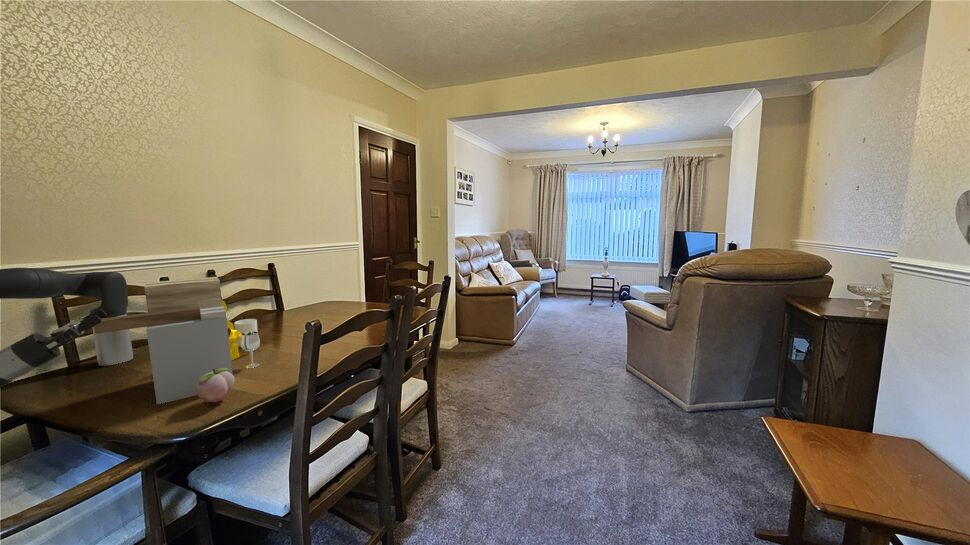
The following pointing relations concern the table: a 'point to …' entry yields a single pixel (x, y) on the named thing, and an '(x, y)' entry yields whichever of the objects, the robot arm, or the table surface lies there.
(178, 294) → the oak stand
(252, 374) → the table surface
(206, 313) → the brown block
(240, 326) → the white cup
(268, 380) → the table surface
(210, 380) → the decorative fruit
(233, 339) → the figure statuette
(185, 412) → the table surface
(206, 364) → the grey block
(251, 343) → the wineglass
